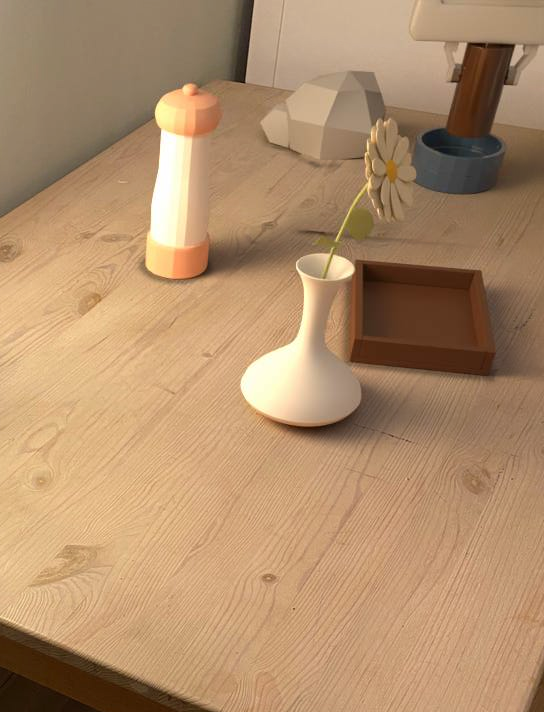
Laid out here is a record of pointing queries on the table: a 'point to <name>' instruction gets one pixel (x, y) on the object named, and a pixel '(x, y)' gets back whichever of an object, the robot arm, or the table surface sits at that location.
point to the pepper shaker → (182, 184)
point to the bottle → (479, 89)
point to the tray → (420, 317)
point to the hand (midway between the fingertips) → (481, 82)
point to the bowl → (457, 161)
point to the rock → (328, 116)
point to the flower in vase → (330, 303)
